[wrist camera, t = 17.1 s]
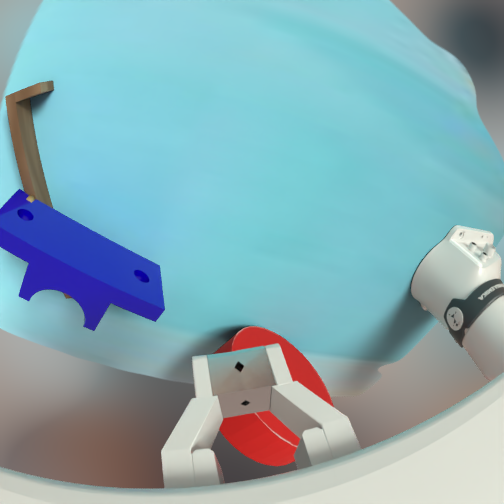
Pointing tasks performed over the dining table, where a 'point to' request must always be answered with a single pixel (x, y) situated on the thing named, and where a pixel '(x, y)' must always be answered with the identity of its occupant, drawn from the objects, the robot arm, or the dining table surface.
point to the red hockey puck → (265, 423)
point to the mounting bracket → (78, 262)
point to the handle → (28, 142)
